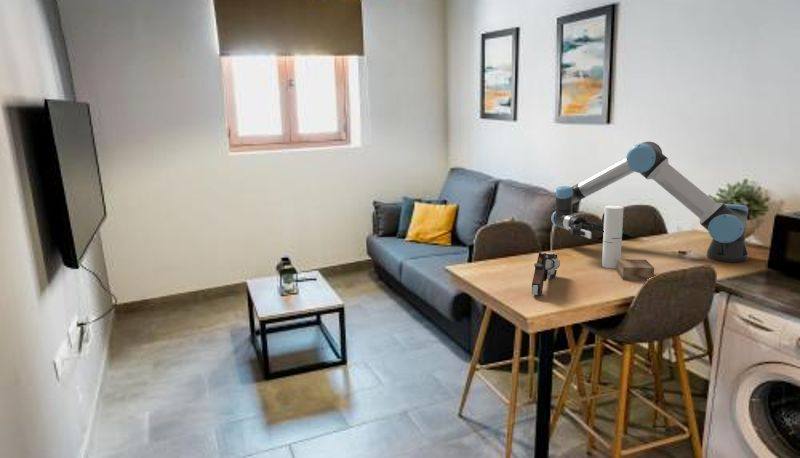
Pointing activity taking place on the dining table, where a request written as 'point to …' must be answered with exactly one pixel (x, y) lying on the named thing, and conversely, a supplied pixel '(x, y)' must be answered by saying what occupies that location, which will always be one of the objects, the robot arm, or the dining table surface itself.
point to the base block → (634, 269)
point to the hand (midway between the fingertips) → (604, 233)
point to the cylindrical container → (612, 235)
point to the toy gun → (544, 271)
